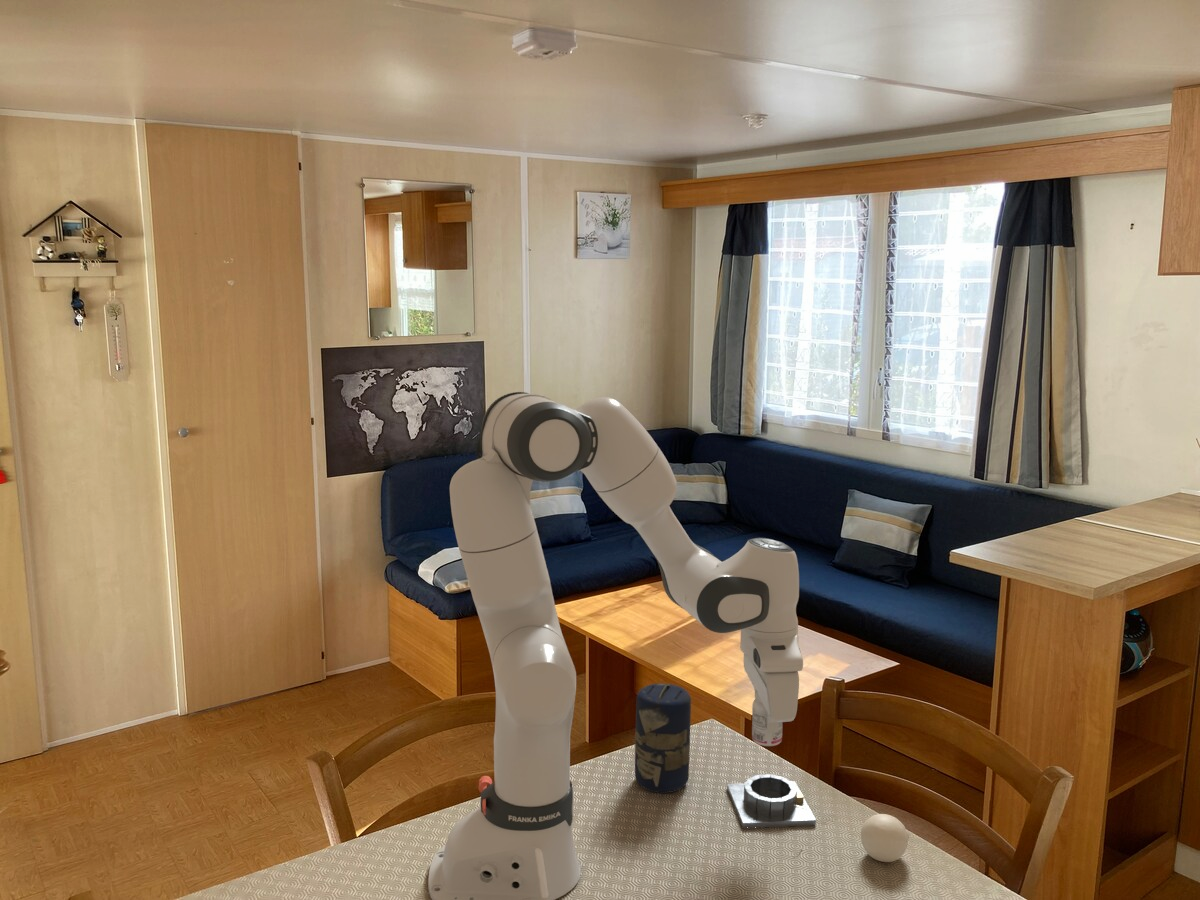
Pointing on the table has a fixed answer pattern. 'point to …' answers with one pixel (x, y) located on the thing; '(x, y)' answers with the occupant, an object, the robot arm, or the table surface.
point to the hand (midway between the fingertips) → (767, 721)
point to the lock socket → (770, 802)
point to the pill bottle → (763, 725)
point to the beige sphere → (884, 837)
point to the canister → (662, 737)
